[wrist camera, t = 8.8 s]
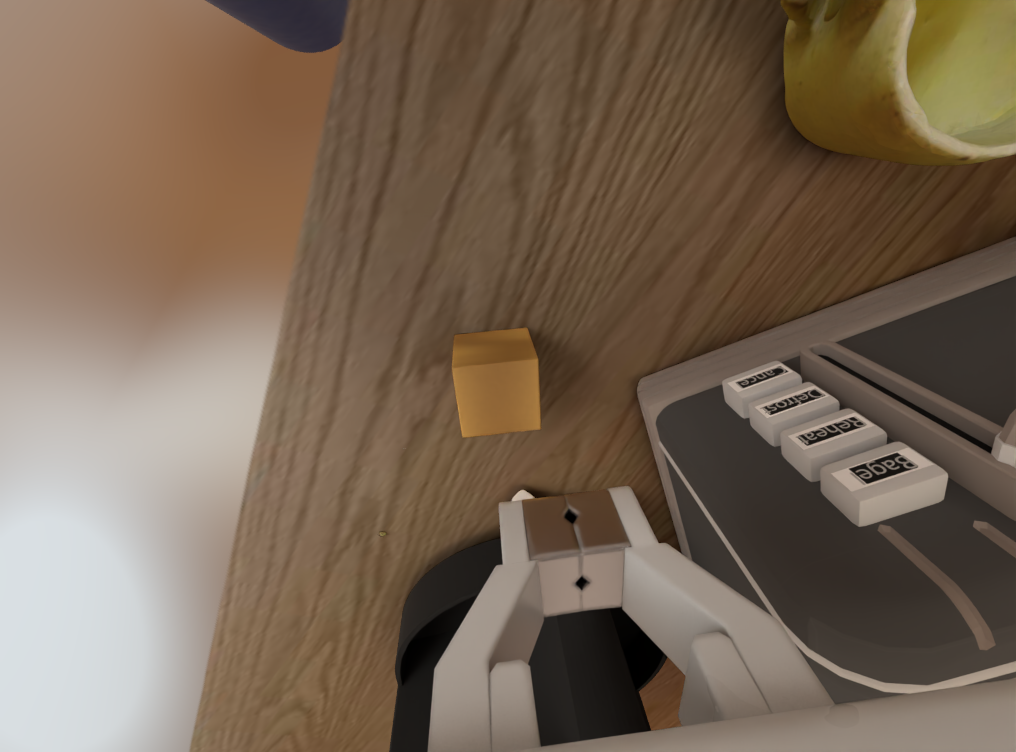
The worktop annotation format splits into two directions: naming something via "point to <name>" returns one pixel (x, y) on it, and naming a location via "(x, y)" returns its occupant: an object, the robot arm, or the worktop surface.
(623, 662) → the container
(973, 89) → the mug
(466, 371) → the block
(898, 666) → the toaster
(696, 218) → the worktop surface
